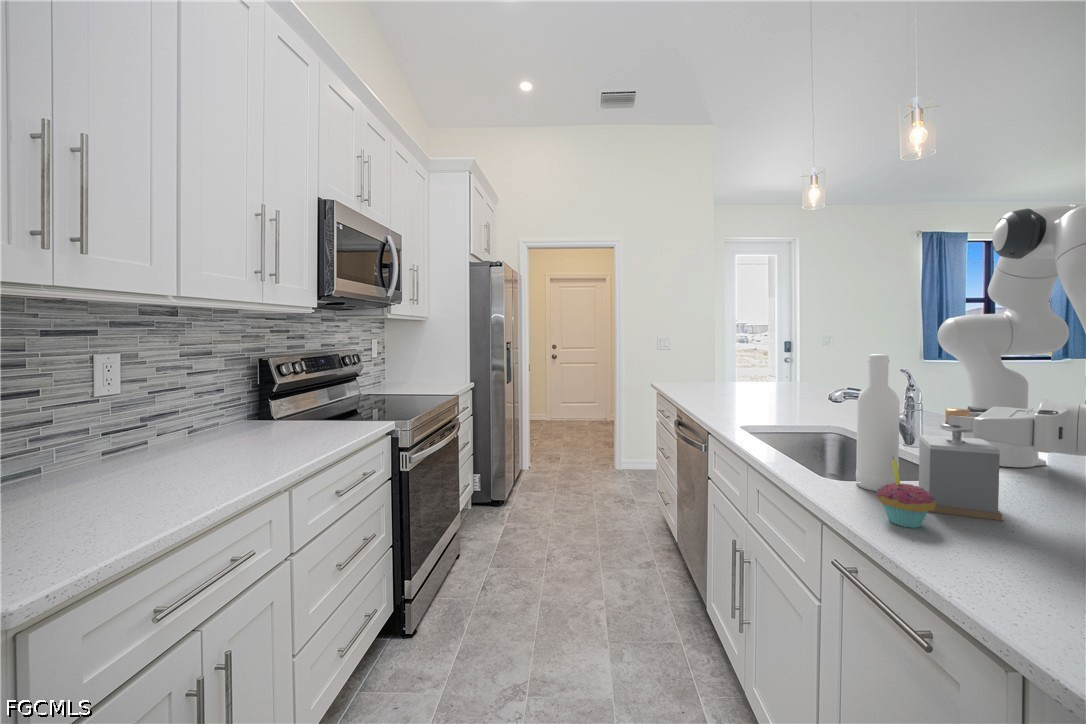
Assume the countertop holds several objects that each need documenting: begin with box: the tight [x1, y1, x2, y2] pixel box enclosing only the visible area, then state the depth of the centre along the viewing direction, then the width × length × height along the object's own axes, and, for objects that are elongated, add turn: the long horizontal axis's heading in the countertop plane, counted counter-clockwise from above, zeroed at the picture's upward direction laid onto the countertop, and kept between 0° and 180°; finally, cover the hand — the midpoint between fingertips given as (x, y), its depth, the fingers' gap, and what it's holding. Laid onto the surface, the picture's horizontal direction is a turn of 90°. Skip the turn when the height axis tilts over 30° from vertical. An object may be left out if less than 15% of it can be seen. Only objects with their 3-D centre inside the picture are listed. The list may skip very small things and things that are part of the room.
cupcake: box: [875, 456, 936, 529], centre depth 86 cm, size 9×8×12 cm
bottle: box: [855, 353, 901, 492], centre depth 106 cm, size 8×8×30 cm
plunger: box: [939, 407, 973, 444], centre depth 93 cm, size 8×8×18 cm
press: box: [918, 434, 1004, 521], centre depth 94 cm, size 11×11×13 cm
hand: (951, 417), depth 94 cm, fingers closed on plunger, 4 cm apart
